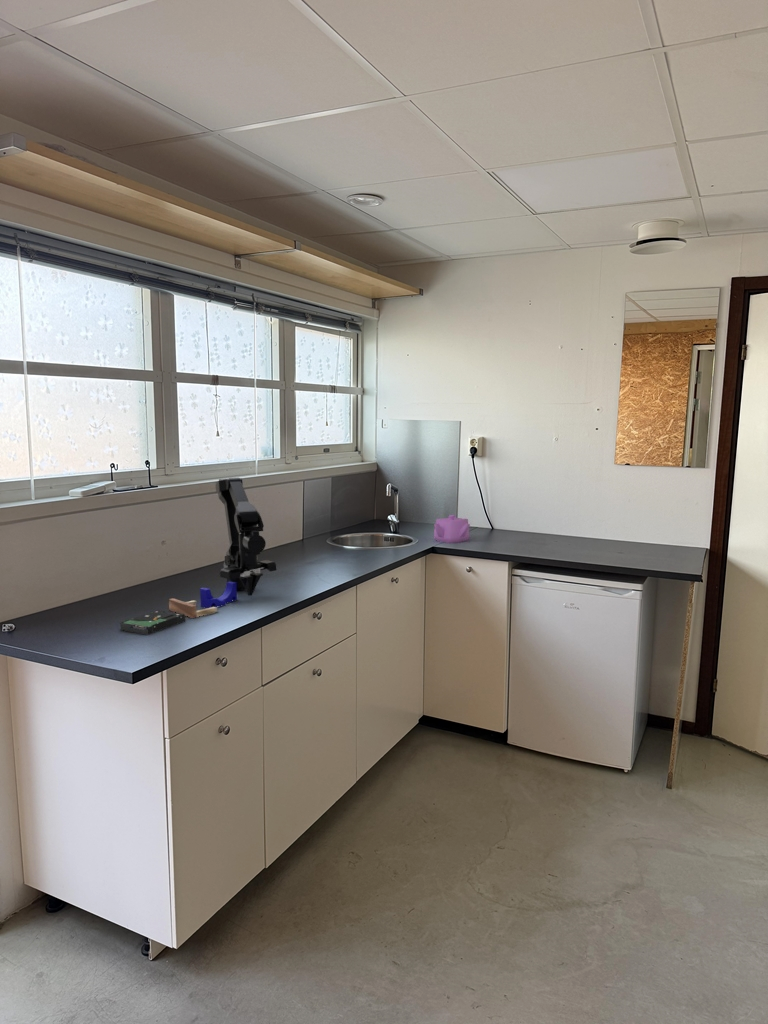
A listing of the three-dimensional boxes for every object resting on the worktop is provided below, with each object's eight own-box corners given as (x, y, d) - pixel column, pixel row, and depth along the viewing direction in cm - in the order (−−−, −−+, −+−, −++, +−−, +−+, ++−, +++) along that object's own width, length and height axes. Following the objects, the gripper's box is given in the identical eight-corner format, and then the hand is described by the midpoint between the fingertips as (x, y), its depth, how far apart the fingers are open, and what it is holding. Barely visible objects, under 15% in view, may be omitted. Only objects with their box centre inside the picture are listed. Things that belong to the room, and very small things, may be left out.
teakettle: (468, 537, 343) (468, 512, 342) (470, 543, 326) (470, 517, 325) (433, 537, 344) (433, 512, 343) (433, 543, 327) (433, 517, 326)
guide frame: (193, 604, 219) (193, 594, 219) (217, 612, 211) (216, 601, 210) (169, 610, 213) (168, 599, 213) (192, 618, 205) (191, 606, 204)
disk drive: (158, 618, 207) (119, 631, 194) (158, 609, 206) (119, 621, 193) (185, 622, 202) (147, 636, 189) (185, 613, 202) (147, 626, 189)
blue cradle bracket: (210, 609, 215) (209, 590, 214) (200, 607, 217) (200, 588, 217) (240, 601, 224) (239, 583, 223) (230, 599, 227) (230, 581, 226)
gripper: (256, 541, 237) (258, 586, 239) (209, 549, 224) (211, 596, 226) (277, 545, 230) (278, 591, 232) (229, 553, 216) (231, 602, 218)
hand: (249, 595), depth 227 cm, fingers closed
